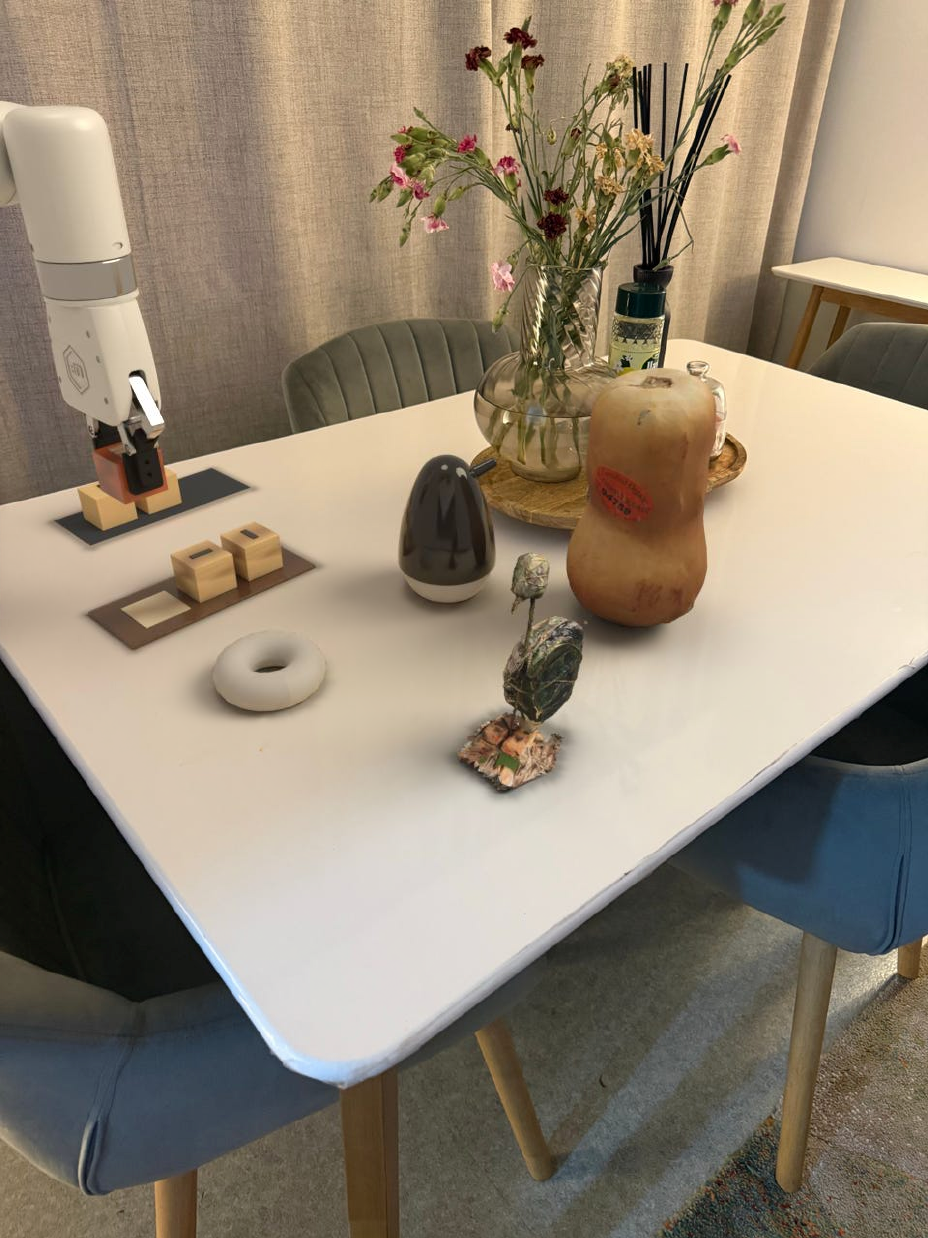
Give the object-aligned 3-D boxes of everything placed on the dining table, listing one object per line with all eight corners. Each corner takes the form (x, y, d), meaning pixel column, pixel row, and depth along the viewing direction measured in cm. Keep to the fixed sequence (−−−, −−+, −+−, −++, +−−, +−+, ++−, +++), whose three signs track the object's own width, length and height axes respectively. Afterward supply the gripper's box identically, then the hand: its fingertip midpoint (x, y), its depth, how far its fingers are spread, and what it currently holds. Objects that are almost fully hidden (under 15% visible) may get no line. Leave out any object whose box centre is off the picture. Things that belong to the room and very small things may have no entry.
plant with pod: (605, 749, 73) (632, 534, 62) (495, 805, 68) (504, 580, 57) (543, 699, 79) (558, 494, 68) (437, 747, 73) (434, 532, 63)
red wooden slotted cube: (100, 490, 84) (90, 449, 81) (143, 476, 86) (135, 436, 84) (125, 504, 81) (115, 462, 79) (168, 489, 84) (160, 448, 82)
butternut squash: (536, 622, 89) (551, 377, 76) (602, 570, 98) (627, 343, 85) (660, 672, 82) (702, 413, 69) (720, 611, 91) (767, 371, 78)
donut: (279, 641, 86) (192, 687, 80) (276, 611, 85) (186, 655, 78) (349, 682, 81) (262, 735, 75) (348, 651, 79) (258, 702, 73)
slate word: (55, 524, 106) (45, 488, 104) (212, 471, 120) (207, 438, 117) (91, 549, 101) (82, 512, 99) (251, 491, 115) (247, 457, 112)
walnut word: (89, 616, 90) (78, 576, 87) (267, 542, 103) (262, 506, 101) (135, 652, 85) (125, 610, 82) (316, 569, 98) (312, 531, 95)
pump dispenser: (511, 605, 92) (517, 469, 84) (415, 623, 89) (412, 484, 81) (476, 559, 100) (478, 431, 92) (388, 575, 97) (381, 444, 89)
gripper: (-2, 270, 76) (52, 468, 86) (96, 304, 66) (143, 523, 76) (81, 257, 80) (123, 447, 90) (184, 287, 71) (218, 496, 81)
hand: (132, 480), depth 83 cm, fingers closed on red wooden slotted cube, 4 cm apart
